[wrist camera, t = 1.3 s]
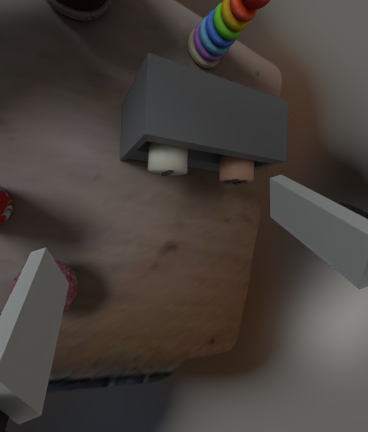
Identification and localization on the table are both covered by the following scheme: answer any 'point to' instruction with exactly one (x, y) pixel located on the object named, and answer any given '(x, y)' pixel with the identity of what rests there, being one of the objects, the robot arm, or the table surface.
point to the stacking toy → (221, 30)
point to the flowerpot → (80, 8)
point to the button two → (236, 170)
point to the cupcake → (70, 278)
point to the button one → (167, 159)
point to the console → (201, 117)
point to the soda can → (5, 206)
